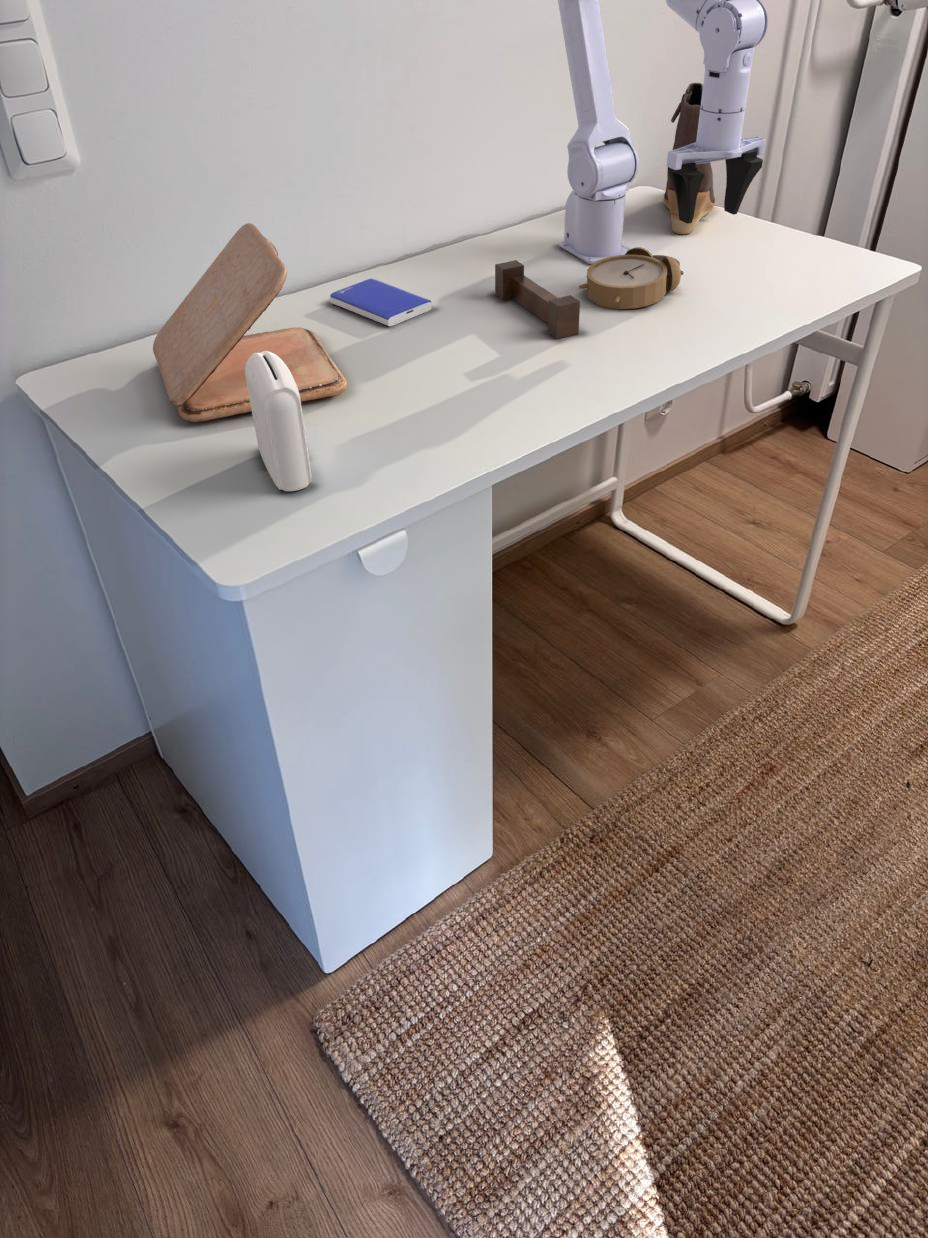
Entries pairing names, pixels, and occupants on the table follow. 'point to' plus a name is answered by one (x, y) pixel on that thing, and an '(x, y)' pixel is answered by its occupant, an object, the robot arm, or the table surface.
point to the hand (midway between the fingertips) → (708, 216)
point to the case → (236, 335)
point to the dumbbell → (537, 299)
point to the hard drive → (380, 302)
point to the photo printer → (278, 421)
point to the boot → (687, 136)
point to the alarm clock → (632, 279)
